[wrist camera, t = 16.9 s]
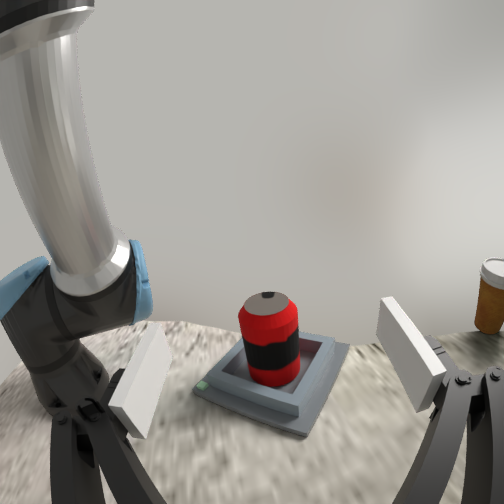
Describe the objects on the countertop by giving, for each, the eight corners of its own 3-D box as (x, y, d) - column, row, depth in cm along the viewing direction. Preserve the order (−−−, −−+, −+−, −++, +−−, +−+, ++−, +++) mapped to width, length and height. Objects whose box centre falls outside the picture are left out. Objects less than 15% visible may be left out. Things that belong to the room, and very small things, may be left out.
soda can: (300, 352, 41) (296, 286, 37) (300, 387, 34) (297, 317, 30) (252, 354, 42) (241, 290, 38) (246, 388, 35) (231, 321, 31)
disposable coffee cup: (510, 340, 29) (530, 280, 25) (470, 338, 34) (487, 277, 30) (501, 312, 36) (515, 258, 32) (464, 309, 42) (476, 254, 37)
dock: (193, 393, 36) (187, 377, 35) (255, 329, 50) (252, 314, 49) (307, 437, 27) (307, 423, 26) (349, 348, 41) (350, 332, 40)
